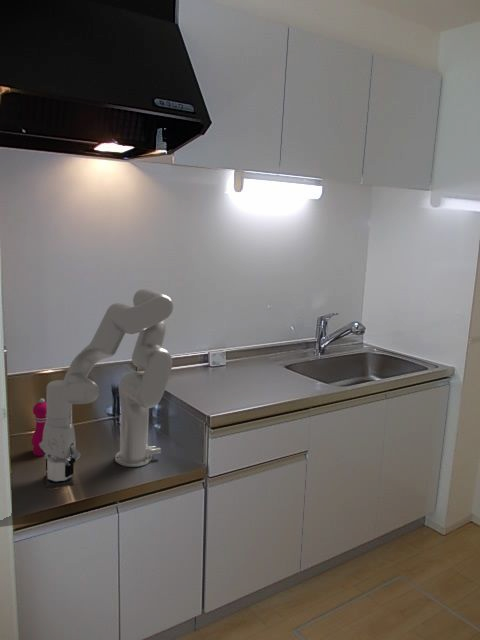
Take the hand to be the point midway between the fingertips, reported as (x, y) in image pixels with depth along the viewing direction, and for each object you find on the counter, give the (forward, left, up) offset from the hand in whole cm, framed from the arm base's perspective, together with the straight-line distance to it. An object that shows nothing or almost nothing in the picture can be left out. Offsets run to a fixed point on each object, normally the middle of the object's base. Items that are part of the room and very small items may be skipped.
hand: (59, 471), depth 175 cm
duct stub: (0, 0, -3) cm, 3 cm away
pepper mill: (+5, -21, -3) cm, 22 cm away
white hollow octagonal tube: (0, 0, -1) cm, 1 cm away
